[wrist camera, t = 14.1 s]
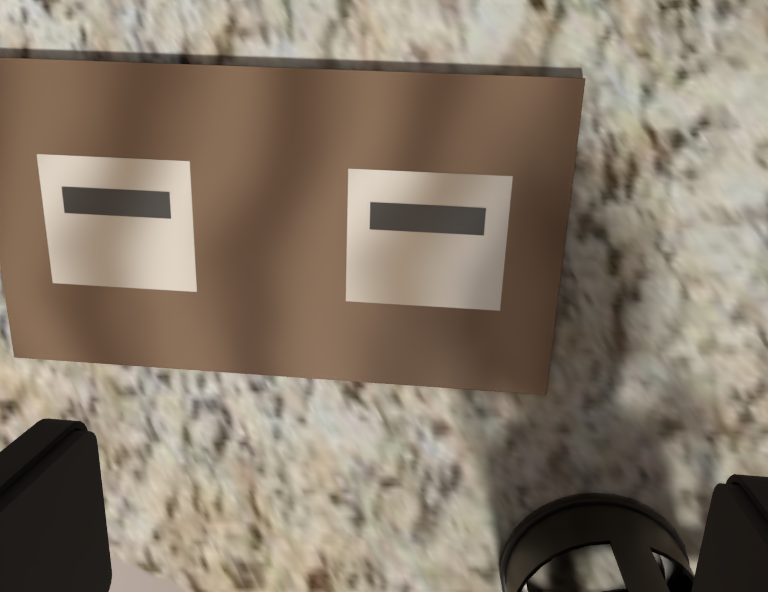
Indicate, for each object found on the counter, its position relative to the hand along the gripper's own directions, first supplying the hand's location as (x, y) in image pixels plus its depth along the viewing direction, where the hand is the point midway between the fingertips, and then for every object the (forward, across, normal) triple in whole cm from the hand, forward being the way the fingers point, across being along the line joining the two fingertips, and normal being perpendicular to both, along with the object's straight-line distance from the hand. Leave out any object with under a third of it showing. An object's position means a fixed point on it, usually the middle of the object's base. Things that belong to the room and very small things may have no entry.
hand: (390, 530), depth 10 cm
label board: (+20, +7, 0) cm, 21 cm away
